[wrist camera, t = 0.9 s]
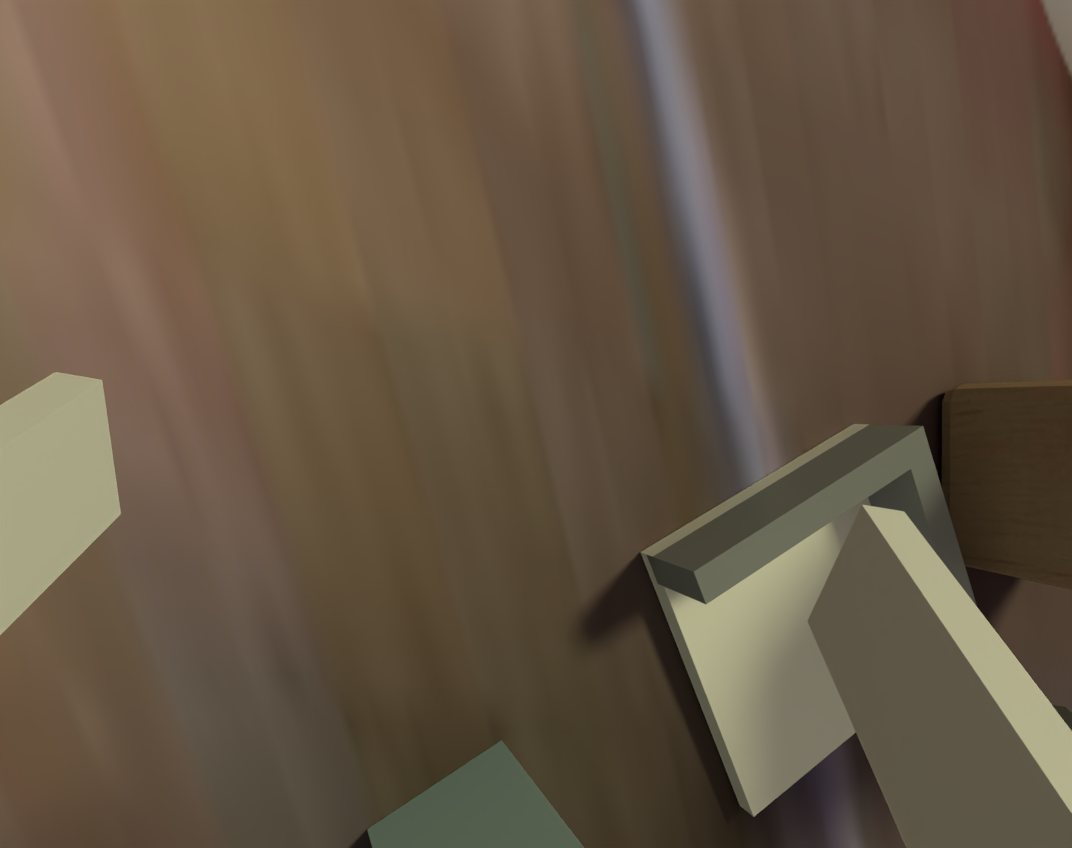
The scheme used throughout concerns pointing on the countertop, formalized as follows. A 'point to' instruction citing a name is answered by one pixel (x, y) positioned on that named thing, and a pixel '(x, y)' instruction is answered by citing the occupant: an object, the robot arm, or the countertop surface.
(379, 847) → the teal post
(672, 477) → the countertop surface
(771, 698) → the corner jig
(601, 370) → the countertop surface
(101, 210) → the countertop surface
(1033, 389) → the wooden block
